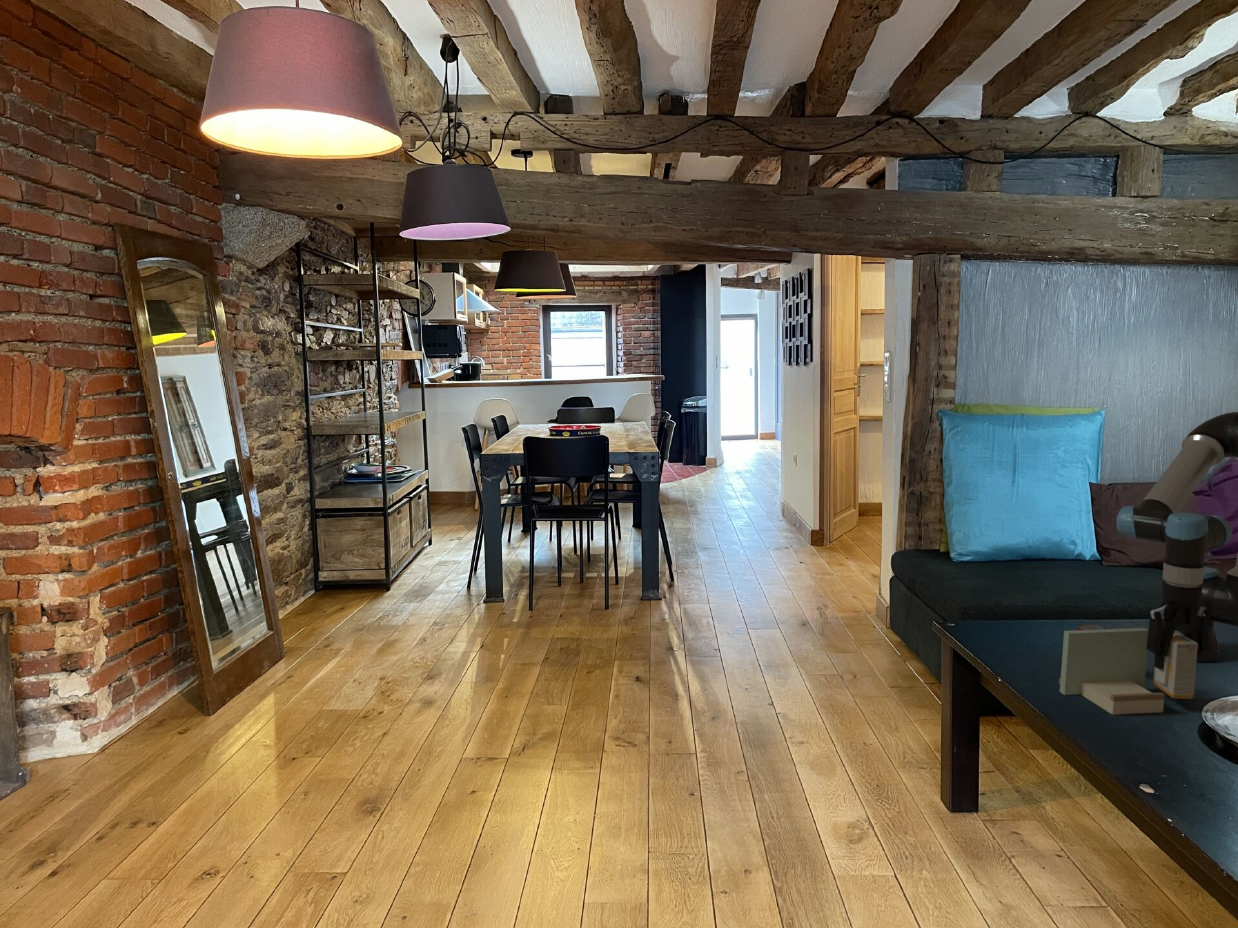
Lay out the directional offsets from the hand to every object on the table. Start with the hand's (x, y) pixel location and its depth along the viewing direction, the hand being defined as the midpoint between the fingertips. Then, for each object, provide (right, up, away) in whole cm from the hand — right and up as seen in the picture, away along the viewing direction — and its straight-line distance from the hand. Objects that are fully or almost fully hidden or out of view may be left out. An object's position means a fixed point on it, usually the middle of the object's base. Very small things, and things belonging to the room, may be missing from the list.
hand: (1174, 680), depth 188 cm
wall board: (-12, -5, +4) cm, 14 cm away
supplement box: (0, -3, +1) cm, 3 cm away
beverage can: (-9, -3, +19) cm, 21 cm away
